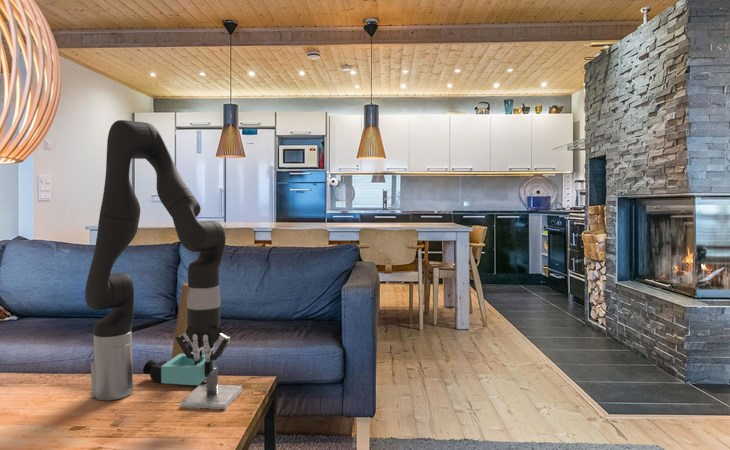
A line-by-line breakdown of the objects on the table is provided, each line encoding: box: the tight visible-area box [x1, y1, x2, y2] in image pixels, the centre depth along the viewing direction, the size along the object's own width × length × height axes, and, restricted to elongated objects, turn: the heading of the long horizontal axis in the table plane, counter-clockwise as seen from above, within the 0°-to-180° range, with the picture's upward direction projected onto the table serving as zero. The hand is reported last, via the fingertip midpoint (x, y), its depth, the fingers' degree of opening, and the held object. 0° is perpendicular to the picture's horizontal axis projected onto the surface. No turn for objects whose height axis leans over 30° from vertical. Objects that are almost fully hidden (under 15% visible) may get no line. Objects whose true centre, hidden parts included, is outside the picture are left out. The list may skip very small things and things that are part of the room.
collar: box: [160, 354, 215, 386], centre depth 116 cm, size 9×9×4 cm
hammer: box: [142, 282, 206, 388], centre depth 140 cm, size 20×5×30 cm, turn 76°
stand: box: [179, 365, 243, 411], centre depth 129 cm, size 12×12×8 cm
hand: (204, 375), depth 116 cm, fingers closed on collar, 1 cm apart
